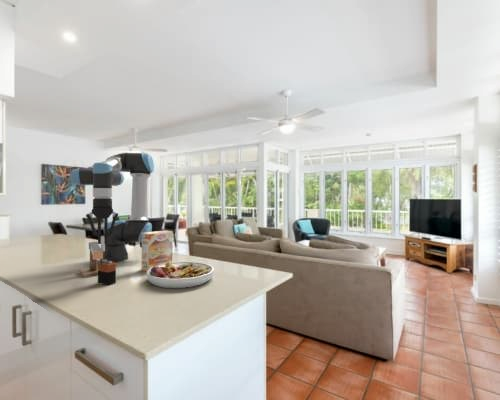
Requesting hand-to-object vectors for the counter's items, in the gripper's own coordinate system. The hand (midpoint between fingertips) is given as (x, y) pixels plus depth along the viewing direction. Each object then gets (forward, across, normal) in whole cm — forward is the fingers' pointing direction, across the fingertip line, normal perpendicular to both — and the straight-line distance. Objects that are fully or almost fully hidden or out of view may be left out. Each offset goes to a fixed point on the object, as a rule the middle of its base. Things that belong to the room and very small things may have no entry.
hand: (102, 251), depth 123 cm
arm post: (+14, +5, -17) cm, 23 cm away
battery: (+14, -2, +2) cm, 14 cm away
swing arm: (+2, +3, -6) cm, 7 cm away
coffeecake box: (+14, -25, -16) cm, 33 cm away
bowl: (+15, -33, +9) cm, 37 cm away
